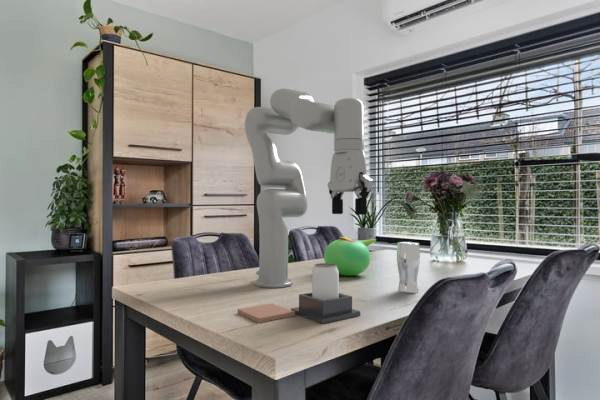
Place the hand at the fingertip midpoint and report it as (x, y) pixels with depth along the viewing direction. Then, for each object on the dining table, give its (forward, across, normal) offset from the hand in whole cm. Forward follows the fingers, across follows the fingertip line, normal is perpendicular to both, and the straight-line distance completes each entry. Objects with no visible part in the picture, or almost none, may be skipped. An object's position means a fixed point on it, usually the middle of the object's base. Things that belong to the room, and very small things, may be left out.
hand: (348, 214), depth 106 cm
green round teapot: (+24, -40, +31) cm, 56 cm away
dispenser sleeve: (+24, +1, -8) cm, 26 cm away
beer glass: (+24, -8, +29) cm, 39 cm away
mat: (+24, -6, -21) cm, 32 cm away
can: (+24, +1, -8) cm, 26 cm away
